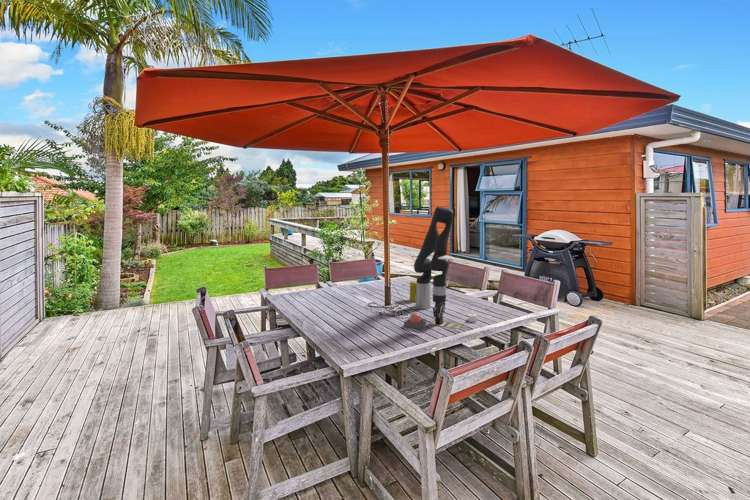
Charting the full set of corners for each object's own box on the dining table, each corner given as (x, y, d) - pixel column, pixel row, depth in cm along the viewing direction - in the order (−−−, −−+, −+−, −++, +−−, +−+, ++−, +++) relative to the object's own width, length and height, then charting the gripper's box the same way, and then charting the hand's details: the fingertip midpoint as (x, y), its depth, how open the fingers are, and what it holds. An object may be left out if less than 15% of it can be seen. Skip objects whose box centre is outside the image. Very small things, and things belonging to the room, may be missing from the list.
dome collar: (404, 328, 209) (403, 321, 209) (411, 323, 217) (411, 317, 217) (419, 331, 204) (419, 324, 204) (426, 326, 213) (426, 319, 212)
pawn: (434, 323, 213) (434, 311, 212) (436, 321, 217) (436, 309, 216) (441, 325, 211) (441, 312, 210) (444, 322, 215) (444, 310, 214)
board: (428, 326, 212) (428, 324, 212) (434, 321, 221) (434, 319, 221) (459, 331, 203) (459, 329, 203) (464, 326, 212) (464, 324, 211)
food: (408, 303, 267) (413, 301, 276) (424, 301, 262) (428, 298, 271) (404, 283, 267) (408, 281, 276) (419, 280, 262) (423, 278, 272)
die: (468, 323, 217) (469, 315, 216) (468, 321, 221) (468, 313, 220) (476, 323, 216) (476, 316, 215) (476, 321, 220) (476, 313, 219)
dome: (407, 324, 210) (407, 313, 209) (412, 321, 215) (412, 311, 214) (418, 325, 206) (418, 315, 206) (422, 322, 212) (422, 312, 211)
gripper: (441, 296, 204) (440, 326, 206) (449, 291, 216) (449, 319, 218) (428, 295, 208) (428, 324, 210) (437, 290, 220) (437, 318, 222)
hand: (439, 322), depth 214 cm, fingers open, 4 cm apart
